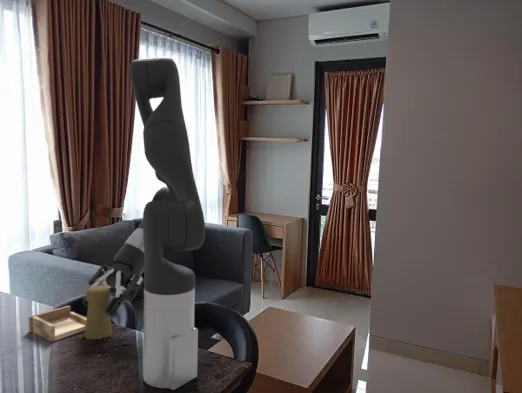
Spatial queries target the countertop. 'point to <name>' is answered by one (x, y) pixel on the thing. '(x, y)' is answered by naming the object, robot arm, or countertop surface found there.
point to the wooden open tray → (57, 323)
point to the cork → (97, 313)
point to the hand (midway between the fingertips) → (96, 309)
